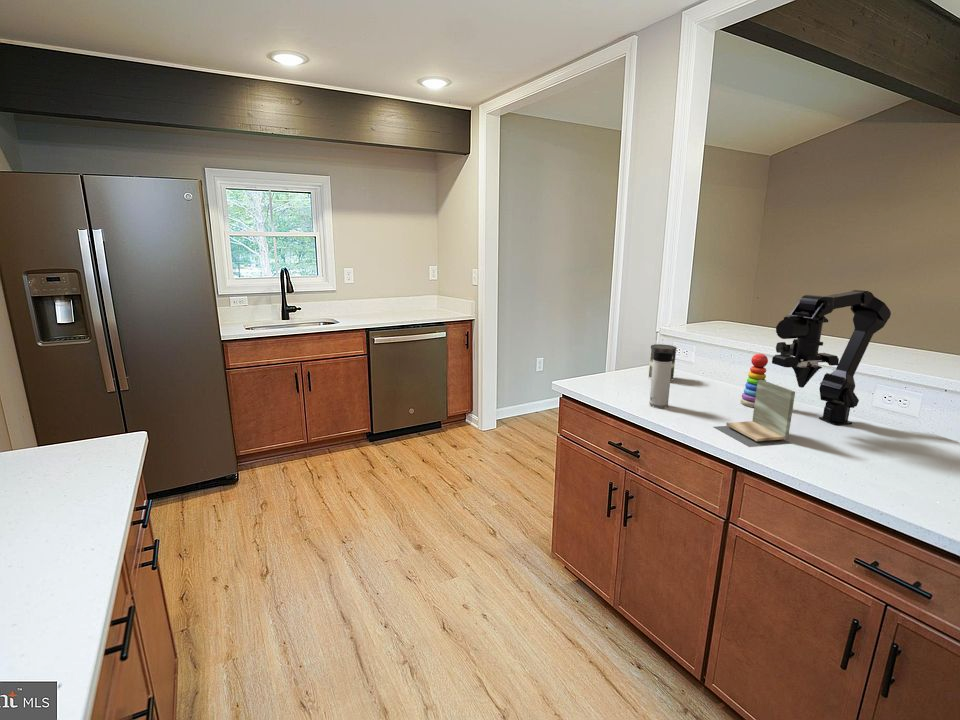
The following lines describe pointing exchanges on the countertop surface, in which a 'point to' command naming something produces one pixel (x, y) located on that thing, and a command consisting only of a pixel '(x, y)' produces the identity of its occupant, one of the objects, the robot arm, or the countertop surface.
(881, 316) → the robot arm
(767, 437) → the wooden bookend
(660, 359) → the travel mug
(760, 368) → the stacking toy
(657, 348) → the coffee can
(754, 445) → the mat
